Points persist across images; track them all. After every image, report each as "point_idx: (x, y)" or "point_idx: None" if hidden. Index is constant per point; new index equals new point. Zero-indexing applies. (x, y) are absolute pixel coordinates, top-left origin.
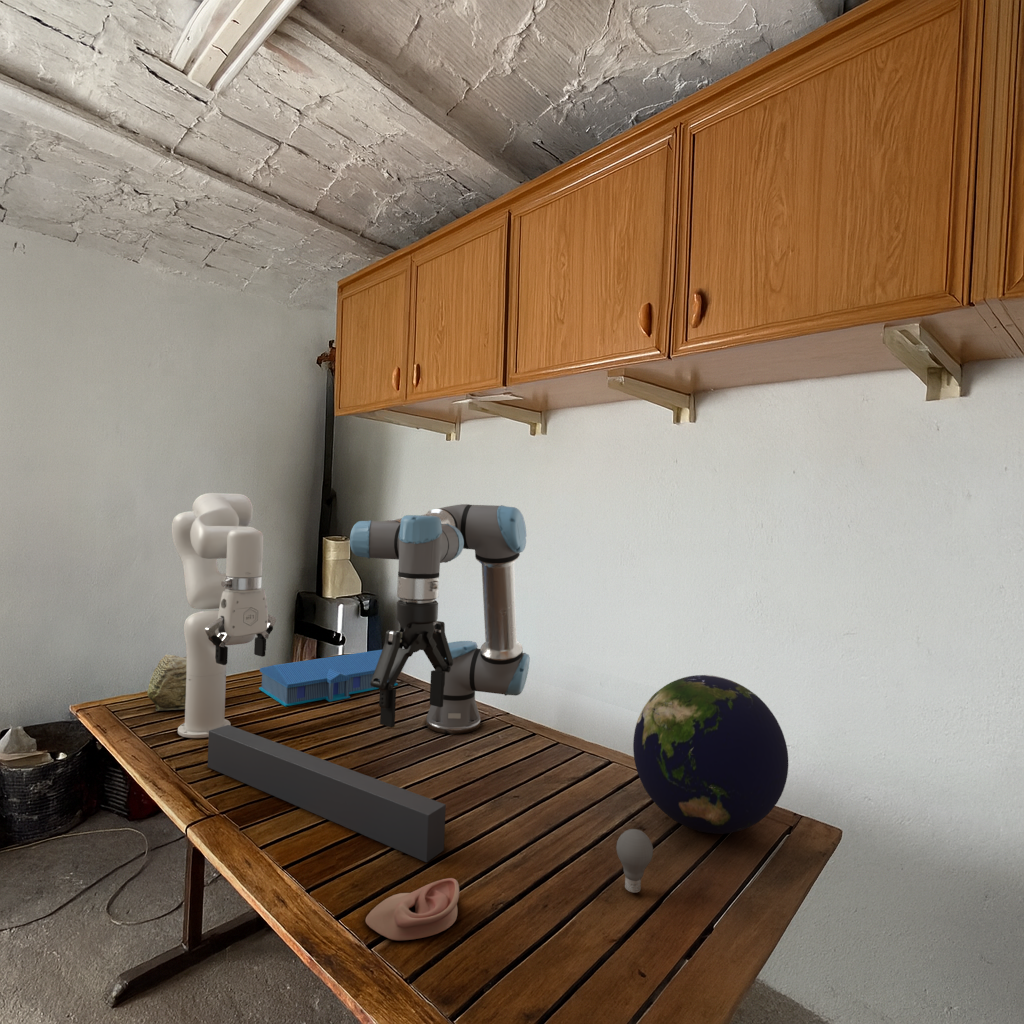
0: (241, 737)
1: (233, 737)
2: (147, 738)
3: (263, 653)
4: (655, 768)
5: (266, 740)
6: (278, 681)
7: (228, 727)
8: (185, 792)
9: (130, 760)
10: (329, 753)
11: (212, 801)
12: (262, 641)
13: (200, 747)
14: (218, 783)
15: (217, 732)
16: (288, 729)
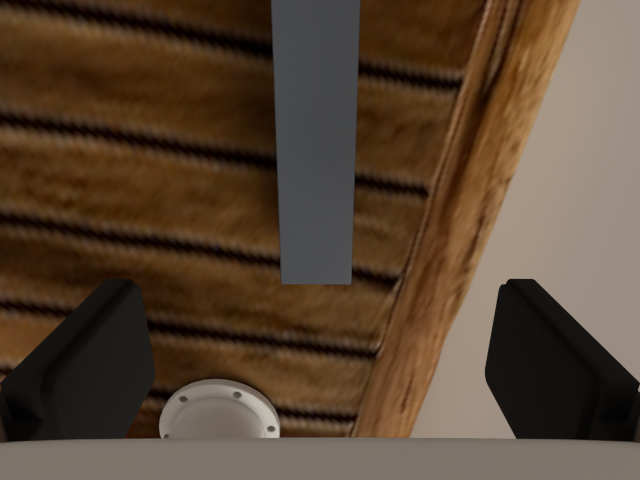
0: (323, 153)
1: (340, 174)
2: None
3: (118, 289)
4: None
5: (284, 53)
6: None
7: (295, 263)
8: (465, 153)
9: (421, 392)
10: (54, 48)
11: (465, 48)
12: (62, 378)
13: (285, 349)
14: (387, 134)
15: (344, 251)
16: (59, 290)
